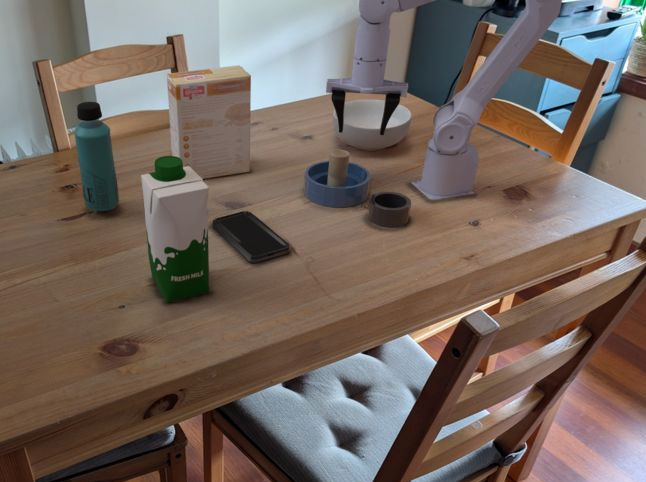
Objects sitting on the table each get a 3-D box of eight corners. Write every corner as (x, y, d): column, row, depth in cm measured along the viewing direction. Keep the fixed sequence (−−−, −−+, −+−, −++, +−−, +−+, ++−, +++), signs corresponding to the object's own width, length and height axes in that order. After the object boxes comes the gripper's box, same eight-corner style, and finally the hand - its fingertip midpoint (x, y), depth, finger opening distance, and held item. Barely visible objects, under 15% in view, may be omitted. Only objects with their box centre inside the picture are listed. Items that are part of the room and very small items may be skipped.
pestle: (340, 187, 134) (344, 148, 129) (348, 195, 131) (352, 155, 126) (323, 190, 133) (326, 150, 128) (330, 198, 131) (334, 158, 126)
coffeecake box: (239, 159, 146) (240, 64, 134) (250, 172, 141) (252, 75, 129) (171, 168, 143) (165, 72, 130) (180, 183, 137) (175, 83, 125)
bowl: (351, 178, 139) (353, 157, 136) (378, 205, 129) (381, 183, 127) (294, 186, 136) (295, 164, 133) (318, 214, 127) (320, 192, 124)
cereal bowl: (331, 127, 159) (334, 97, 155) (404, 131, 158) (409, 100, 153) (329, 157, 146) (332, 125, 142) (409, 161, 145) (414, 128, 140)
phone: (247, 209, 126) (292, 246, 115) (247, 215, 126) (291, 252, 116) (209, 219, 123) (251, 258, 113) (209, 225, 124) (251, 264, 113)
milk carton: (195, 266, 113) (191, 150, 101) (217, 295, 107) (215, 174, 94) (145, 278, 110) (133, 160, 98) (164, 308, 104) (154, 186, 91)
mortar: (396, 209, 128) (399, 189, 126) (414, 227, 123) (418, 206, 120) (360, 214, 127) (363, 194, 124) (378, 232, 121) (381, 212, 119)
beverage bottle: (127, 206, 130) (115, 100, 117) (108, 222, 125) (94, 113, 113) (98, 200, 132) (83, 95, 119) (78, 215, 127) (61, 107, 115)
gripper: (327, 61, 120) (321, 137, 128) (412, 66, 118) (400, 142, 126) (330, 50, 125) (324, 123, 134) (411, 54, 123) (400, 128, 132)
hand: (361, 132), depth 130 cm, fingers open, 7 cm apart
